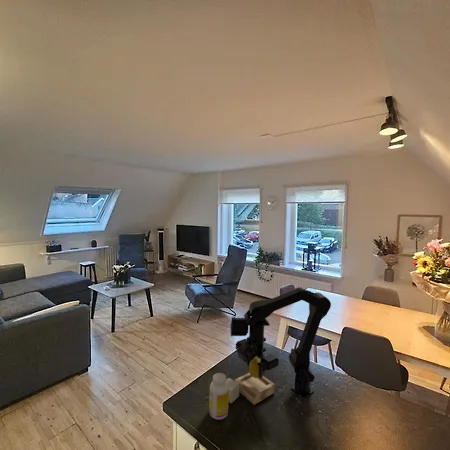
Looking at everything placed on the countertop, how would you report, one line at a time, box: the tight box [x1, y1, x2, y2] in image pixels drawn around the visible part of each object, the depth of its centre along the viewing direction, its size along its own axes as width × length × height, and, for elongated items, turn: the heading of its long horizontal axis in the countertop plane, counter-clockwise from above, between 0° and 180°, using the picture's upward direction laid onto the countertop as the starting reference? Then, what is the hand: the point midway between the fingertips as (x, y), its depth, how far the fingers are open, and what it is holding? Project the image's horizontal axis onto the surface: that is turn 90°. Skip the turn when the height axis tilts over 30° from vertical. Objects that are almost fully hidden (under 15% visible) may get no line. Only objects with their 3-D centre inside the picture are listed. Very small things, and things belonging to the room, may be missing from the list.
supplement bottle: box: [208, 372, 229, 420], centre depth 88 cm, size 7×7×13 cm
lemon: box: [248, 357, 261, 378], centre depth 99 cm, size 6×6×8 cm
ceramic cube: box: [226, 377, 240, 404], centre depth 96 cm, size 5×5×5 cm
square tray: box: [234, 372, 276, 406], centre depth 100 cm, size 11×11×4 cm
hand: (255, 374), depth 99 cm, fingers closed on lemon, 5 cm apart
